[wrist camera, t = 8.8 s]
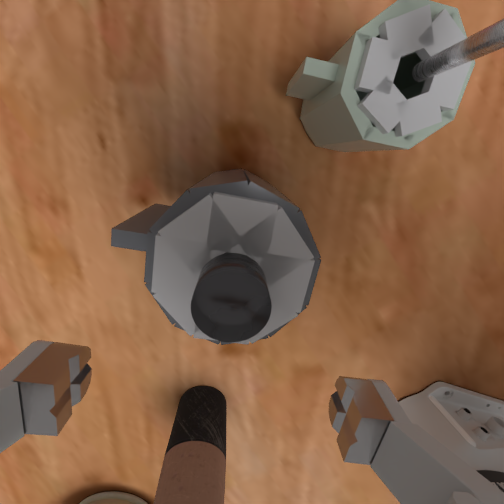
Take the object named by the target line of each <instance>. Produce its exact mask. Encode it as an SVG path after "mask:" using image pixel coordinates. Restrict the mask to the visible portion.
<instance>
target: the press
mask: <svg viewBox="0 0 504 504" xmlns="http://www.w3.org/2000/svg"><path fill="white" fill-rule="evenodd" d="M111 246H114V247H120V248H127V249H133V250H140V251H146V263H145V278H144V282H147V283H146V284H145V285H146V287H147V288H148V290H149V291H150V293H151V294H152V296H153V297H154V299H155V300H156V301H157V303H158V304H159V306H160V307H161V309H162V310H163V312H164V313H165V315H166V316H167V318H168V319H169V321H170V322H171V323H172V324H174V323H175V325H174V326H175V327H177V328H180V329H182V330H185V331H186V332H187V333H188V334H189V335H190V336H191V335H193V334H194V338H200V339H206V340H209V341H211V342H214V343H216V344H219V343H220V341H218V340H215V339H212V338H210V337H209V336H207V335H205V334H204V333H203V332H202V331H201V330H200V329H199V328H198V327H197V326H196V324H195V322H194V320H193V318H192V314H191V300H192V296H193V293H194V290H195V287H196V284H197V281H198V278H199V275H200V272H201V270H202V268H203V267H204V266H205V264H206V263H207V262H208V261H210V260H211V259H213V258H214V257H216V256H218V255H221V254H225V253H226V252H230V253H239V254H243V255H246V256H248V257H250V258H252V259H253V260H255V261H256V262H257V263H258V264H259V265H260V267H261V268H262V270H263V272H264V274H265V277H266V281H267V286H268V290H269V294H270V299H271V305H272V308H271V315H270V318H269V320H268V322H267V324H266V325H265V327H264V328H263V329H262V330H261V331H260V332H259V333H258V334H256V335H255V336H253V337H251V338H249V339H247V340H244V341H240V342H222V341H221V345H223V344H230V343H240V344H249V341H250V342H251V343H254V342H256V341H257V340H259V339H266V338H268V335H269V336H270V337H271V336H272V335H274V334H275V333H276V332H277V331H279V330H280V329H281V328H282V327H283V326H285V325H286V324H287V323H288V322H290V321H291V320H292V319H294V318H295V317H297V316H298V314H299V313H301V312H302V311H303V310H304V309H306V308H307V307H306V305H308V304H309V301H310V297H311V294H312V290H313V287H314V283H315V280H316V276H317V273H318V269H319V266H320V262H321V259H320V258H321V256H320V254H319V252H318V249H317V247H316V244H315V242H314V240H313V237H312V235H311V232H310V230H309V228H308V225H307V223H306V220H305V218H304V216H303V213H302V211H301V210H300V208H299V207H297V206H296V205H295V204H294V203H292V202H291V201H290V200H289V199H288V198H286V197H285V196H284V195H283V194H282V193H280V192H279V191H278V190H277V189H276V188H274V187H273V186H272V185H271V184H270V183H268V182H267V181H265V180H263V179H261V178H260V177H258V176H256V175H254V174H252V173H251V172H249V171H247V170H245V169H242V168H241V169H234V170H227V171H220V172H214V173H212V174H211V175H209V176H208V177H206V178H205V179H203V180H201V181H200V182H198V183H197V184H195V185H194V186H192V187H191V188H189V189H188V190H186V191H185V192H184V194H183V195H182V196H181V197H180V198H179V199H178V200H177V201H176V202H175V203H174V204H173V205H172V206H167V205H161V204H154V205H152V206H150V207H149V208H147V209H145V210H143V211H142V212H140V213H138V214H136V215H135V216H133V217H131V218H129V219H128V220H126V221H124V222H122V223H121V224H119V225H117V226H115V227H114V228H112V237H111Z"/></svg>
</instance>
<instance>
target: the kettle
mask: <svg viewBox="0 0 504 504" xmlns="http://www.w3.org/2000/svg"><path fill="white" fill-rule="evenodd" d="M79 504H148V503H147V502H146V501H144V500H143V499H141V498H139V497H137V496H135V495H132V494H129V493H125V492H117V491H109V492H101V493H97V494H94V495H91V496H89V497H87V498H86V499H84V500H83V501H82V502H80V503H79Z"/></svg>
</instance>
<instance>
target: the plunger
mask: <svg viewBox="0 0 504 504" xmlns="http://www.w3.org/2000/svg"><path fill="white" fill-rule="evenodd" d="M271 308H272V305H271V299H270V294H269V290H268V286H267V281H266V277H265V274H264V272H263V270H262V268H261V267H260V265H259V264H258V263H257V262H256V261H255V260H253V259H252V258H250V257H248V256H246V255H243V254H239V253H230V252H226V253H225V254H221V255H218V256H216V257H214V258H213V259H211V260H210V261H208V262H207V263H206V264H205V266H204V267H203V268H202V270H201V272H200V275H199V278H198V281H197V284H196V287H195V290H194V293H193V296H192V300H191V314H192V318H193V320H194V322H195V324H196V326H197V327H198V328H199V329H200V330H201V331H202V332H203V333H204V334H205V335H207V336H209V337H210V338H212V339H215V340H218V341H222V342H240V341H244V340H247V339H249V338H251V337H253V336H255V335H256V334H258V333H259V332H260V331H261V330H262V329H263V328H264V327H265V325H266V324H267V322H268V320H269V318H270V315H271Z"/></svg>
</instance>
